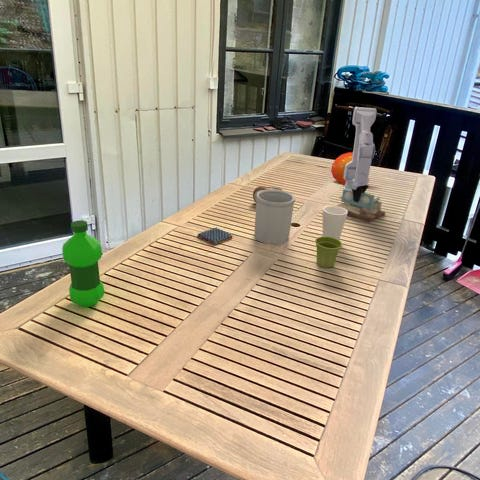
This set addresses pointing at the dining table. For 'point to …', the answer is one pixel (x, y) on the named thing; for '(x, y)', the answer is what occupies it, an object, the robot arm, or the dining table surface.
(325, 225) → the foam cup
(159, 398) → the dining table surface
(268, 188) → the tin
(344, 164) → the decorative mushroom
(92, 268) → the plastic bottle
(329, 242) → the plant pot
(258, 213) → the utensil holder
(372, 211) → the display stand
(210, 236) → the woven mat
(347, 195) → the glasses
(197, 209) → the dining table surface
